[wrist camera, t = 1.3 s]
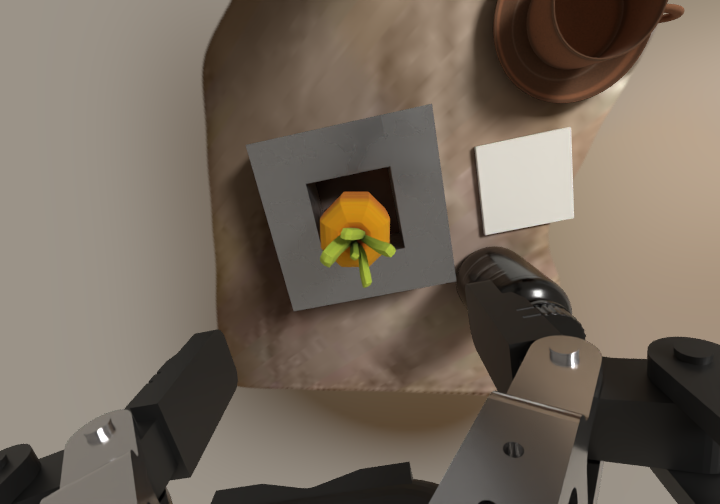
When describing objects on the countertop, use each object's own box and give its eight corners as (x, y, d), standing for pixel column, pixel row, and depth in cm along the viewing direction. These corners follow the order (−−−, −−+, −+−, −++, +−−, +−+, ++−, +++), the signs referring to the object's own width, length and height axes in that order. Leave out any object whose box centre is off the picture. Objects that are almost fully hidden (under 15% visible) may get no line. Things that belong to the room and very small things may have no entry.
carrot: (393, 190, 33) (415, 231, 19) (372, 239, 35) (377, 312, 20) (342, 169, 33) (324, 195, 18) (323, 219, 34) (292, 280, 20)
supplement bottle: (461, 316, 37) (504, 397, 26) (448, 254, 35) (488, 312, 24) (530, 301, 36) (605, 376, 25) (520, 236, 34) (598, 286, 23)
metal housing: (263, 143, 32) (245, 145, 27) (421, 108, 31) (431, 103, 26) (303, 288, 36) (293, 311, 31) (444, 261, 35) (456, 281, 30)
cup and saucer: (636, -90, 27) (712, -153, 21) (642, 82, 30) (709, 69, 25) (474, -39, 28) (503, -85, 22) (498, 122, 32) (528, 118, 26)
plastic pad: (474, 146, 32) (475, 146, 31) (567, 127, 31) (570, 126, 31) (483, 233, 34) (485, 235, 34) (571, 217, 34) (574, 218, 33)
